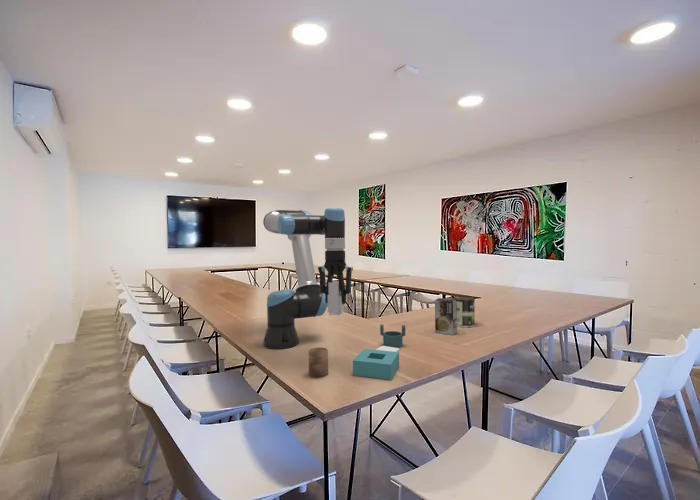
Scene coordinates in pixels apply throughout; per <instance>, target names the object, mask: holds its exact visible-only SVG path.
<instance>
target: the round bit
mask: <svg viewBox="0 0 700 500" xmlns="http://www.w3.org/2000/svg"><path fill="white" fill-rule="evenodd" d="M328 375H329V351H328V349H327V348H325V347H313V348H312V347H311V348H310V349H309V350H308V376H309V377H311V378H313V379H314V378H315V379H319V378H325V377H326V376H328Z"/></svg>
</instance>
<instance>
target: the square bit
mask: <svg viewBox="0 0 700 500" xmlns="http://www.w3.org/2000/svg"><path fill="white" fill-rule="evenodd" d="M328 286H329V312H328V315H329V316H331V315H332V316H340V315H341V314H343V313H340V310H339V296H340V295H341V291H340V286H339V281H338V280H337V281H336V280H332V282H328Z"/></svg>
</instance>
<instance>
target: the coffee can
mask: <svg viewBox="0 0 700 500" xmlns="http://www.w3.org/2000/svg"><path fill="white" fill-rule="evenodd" d="M453 299H456V304H457V327H460V328H474V327H475V326H476V324H475V323H476V322H475V321H476V320H475V314H476V313H475V311H476V310H475V300H476V299H475V298H474V297H471V296H470V297H469V296H456V297H453Z"/></svg>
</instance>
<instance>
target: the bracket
mask: <svg viewBox="0 0 700 500" xmlns="http://www.w3.org/2000/svg"><path fill="white" fill-rule="evenodd" d="M379 328H380V329H379V333H380V335H381V336H383V338H382V341H383V343H382V346H388V347H394V348H399V349H400V348H402V347H403V345H404V344H403V337H405V336H406V325H405V324H401V331H396V330H388V331H385V329H384V324H380V325H379Z"/></svg>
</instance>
